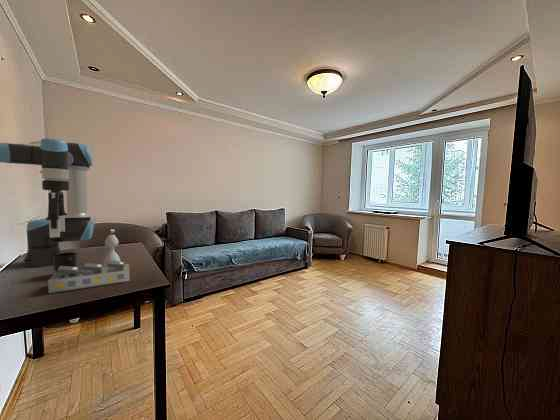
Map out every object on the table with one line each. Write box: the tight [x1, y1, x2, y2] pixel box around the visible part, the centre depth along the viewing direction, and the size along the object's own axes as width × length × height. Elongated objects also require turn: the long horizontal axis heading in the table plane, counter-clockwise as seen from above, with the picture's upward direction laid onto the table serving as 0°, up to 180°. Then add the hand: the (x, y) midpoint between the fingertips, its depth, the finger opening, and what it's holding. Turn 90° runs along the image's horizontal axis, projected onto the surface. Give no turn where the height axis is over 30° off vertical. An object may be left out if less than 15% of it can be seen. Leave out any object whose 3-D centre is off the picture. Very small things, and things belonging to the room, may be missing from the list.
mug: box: [52, 251, 78, 273], centre depth 107 cm, size 8×12×10 cm
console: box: [47, 263, 131, 294], centre depth 100 cm, size 10×26×6 cm, turn 124°
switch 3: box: [107, 261, 125, 269], centre depth 105 cm, size 5×6×2 cm
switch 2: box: [82, 262, 103, 272], centre depth 100 cm, size 5×6×2 cm
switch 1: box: [57, 266, 80, 275], centre depth 96 cm, size 5×6×2 cm
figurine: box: [102, 228, 122, 267], centre depth 119 cm, size 8×8×20 cm
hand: (57, 234), depth 93 cm, fingers open, 13 cm apart
